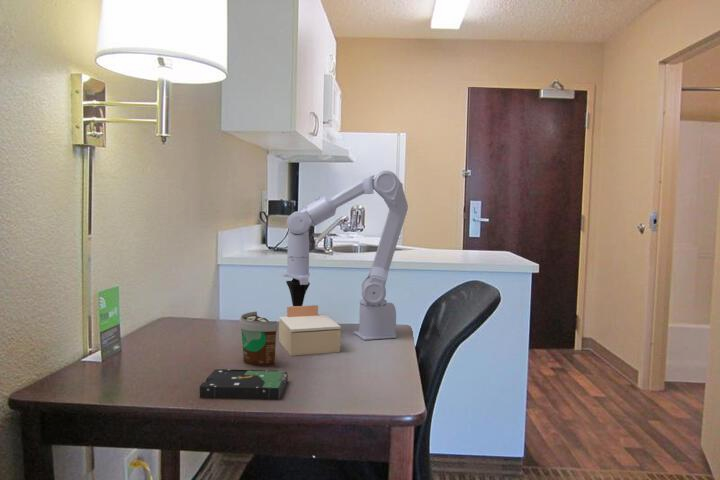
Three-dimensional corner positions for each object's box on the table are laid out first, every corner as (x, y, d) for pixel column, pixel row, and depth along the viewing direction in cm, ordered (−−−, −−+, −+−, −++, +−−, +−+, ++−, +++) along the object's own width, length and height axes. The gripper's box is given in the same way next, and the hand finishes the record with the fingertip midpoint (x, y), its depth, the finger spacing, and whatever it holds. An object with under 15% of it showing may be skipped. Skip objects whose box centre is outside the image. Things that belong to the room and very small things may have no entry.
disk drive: (198, 401, 97) (280, 402, 97) (198, 386, 97) (280, 387, 97) (214, 382, 107) (288, 382, 107) (214, 368, 107) (288, 369, 107)
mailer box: (323, 337, 141) (324, 317, 141) (340, 351, 128) (340, 330, 128) (278, 340, 137) (279, 320, 137) (290, 355, 124) (291, 333, 124)
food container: (230, 356, 123) (230, 313, 122) (255, 352, 126) (255, 310, 125) (250, 371, 112) (250, 324, 112) (277, 367, 116) (277, 321, 115)
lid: (324, 316, 141) (324, 304, 141) (340, 328, 128) (340, 316, 128) (279, 319, 137) (279, 307, 137) (291, 332, 124) (291, 318, 124)
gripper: (278, 254, 148) (277, 302, 149) (289, 260, 134) (288, 313, 135) (302, 254, 150) (302, 301, 151) (316, 259, 137) (315, 312, 138)
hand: (297, 307), depth 144 cm, fingers closed
